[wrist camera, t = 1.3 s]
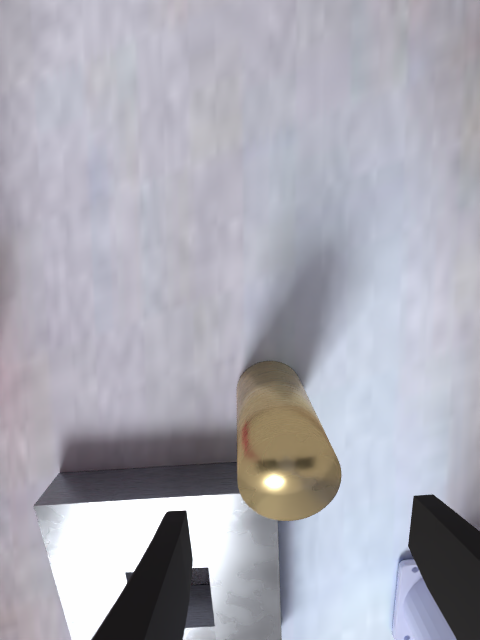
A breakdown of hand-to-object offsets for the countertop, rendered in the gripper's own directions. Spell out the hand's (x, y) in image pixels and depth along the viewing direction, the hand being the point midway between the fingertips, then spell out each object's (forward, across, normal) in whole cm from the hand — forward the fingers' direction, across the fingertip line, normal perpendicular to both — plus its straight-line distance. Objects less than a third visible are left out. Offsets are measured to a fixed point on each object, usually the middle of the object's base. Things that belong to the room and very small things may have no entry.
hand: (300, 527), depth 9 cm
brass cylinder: (+9, 0, 0) cm, 9 cm away
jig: (+9, +7, +13) cm, 17 cm away
